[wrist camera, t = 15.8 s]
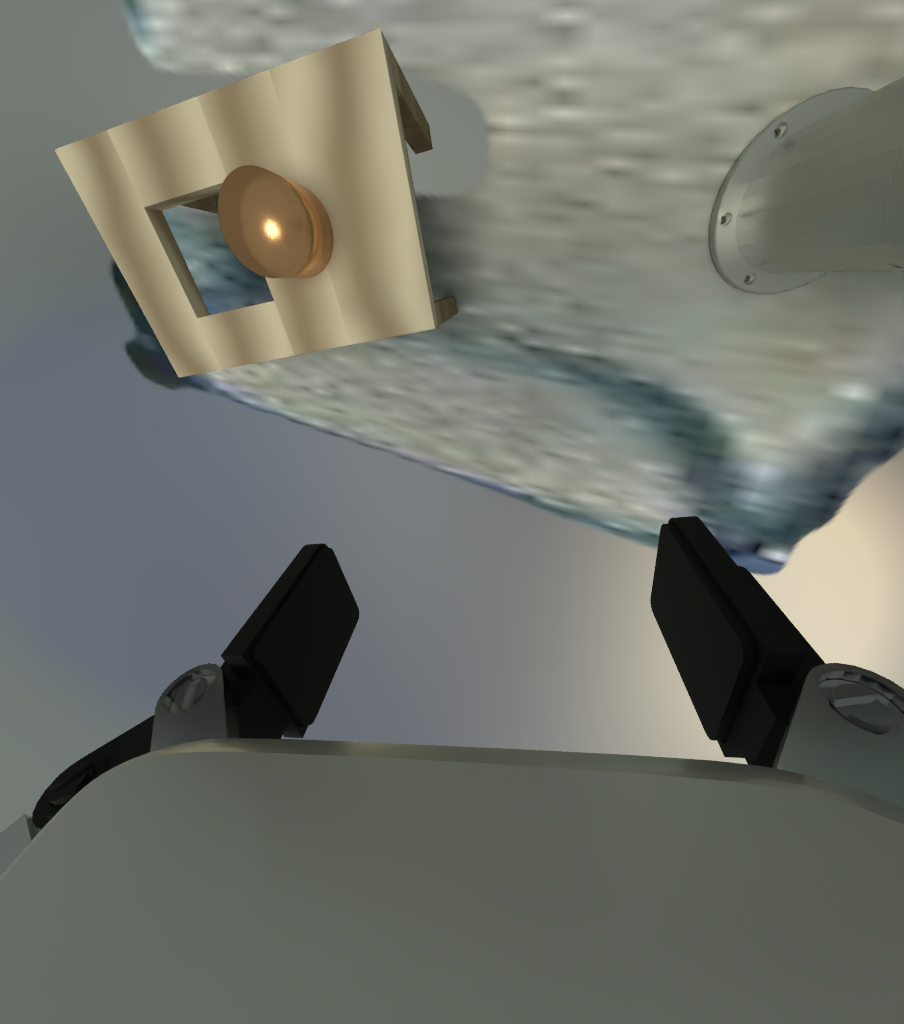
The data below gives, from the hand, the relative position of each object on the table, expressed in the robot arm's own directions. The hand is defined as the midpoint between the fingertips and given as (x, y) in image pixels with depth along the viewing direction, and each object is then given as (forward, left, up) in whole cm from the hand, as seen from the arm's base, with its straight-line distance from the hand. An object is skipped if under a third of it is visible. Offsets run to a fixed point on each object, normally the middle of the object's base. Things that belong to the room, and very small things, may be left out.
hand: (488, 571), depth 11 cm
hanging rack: (+15, -12, -34) cm, 39 cm away
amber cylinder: (+12, -12, -30) cm, 35 cm away
